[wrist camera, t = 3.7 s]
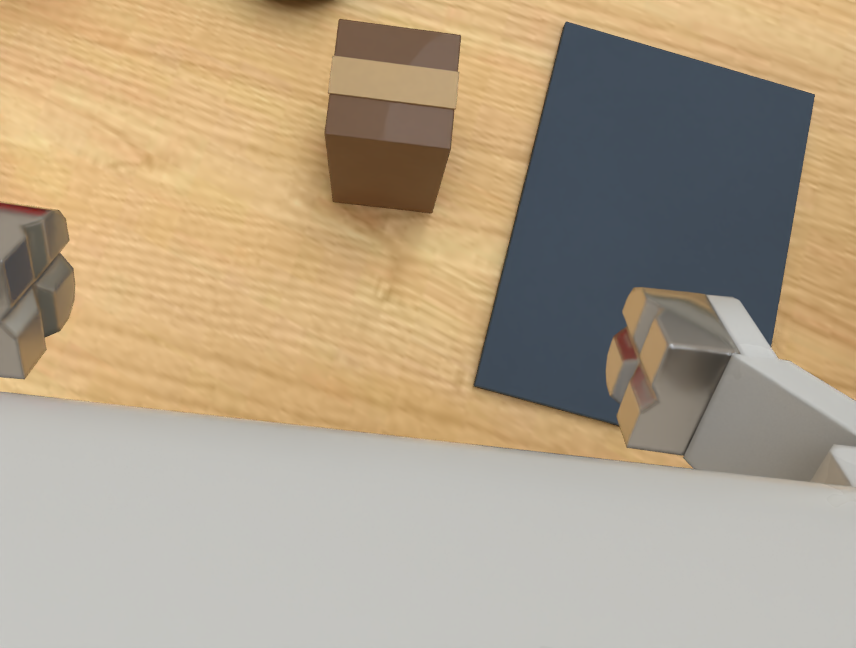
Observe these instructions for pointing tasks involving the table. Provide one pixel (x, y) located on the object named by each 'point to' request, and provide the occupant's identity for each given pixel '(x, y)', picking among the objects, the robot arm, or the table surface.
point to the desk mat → (639, 209)
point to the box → (390, 114)
